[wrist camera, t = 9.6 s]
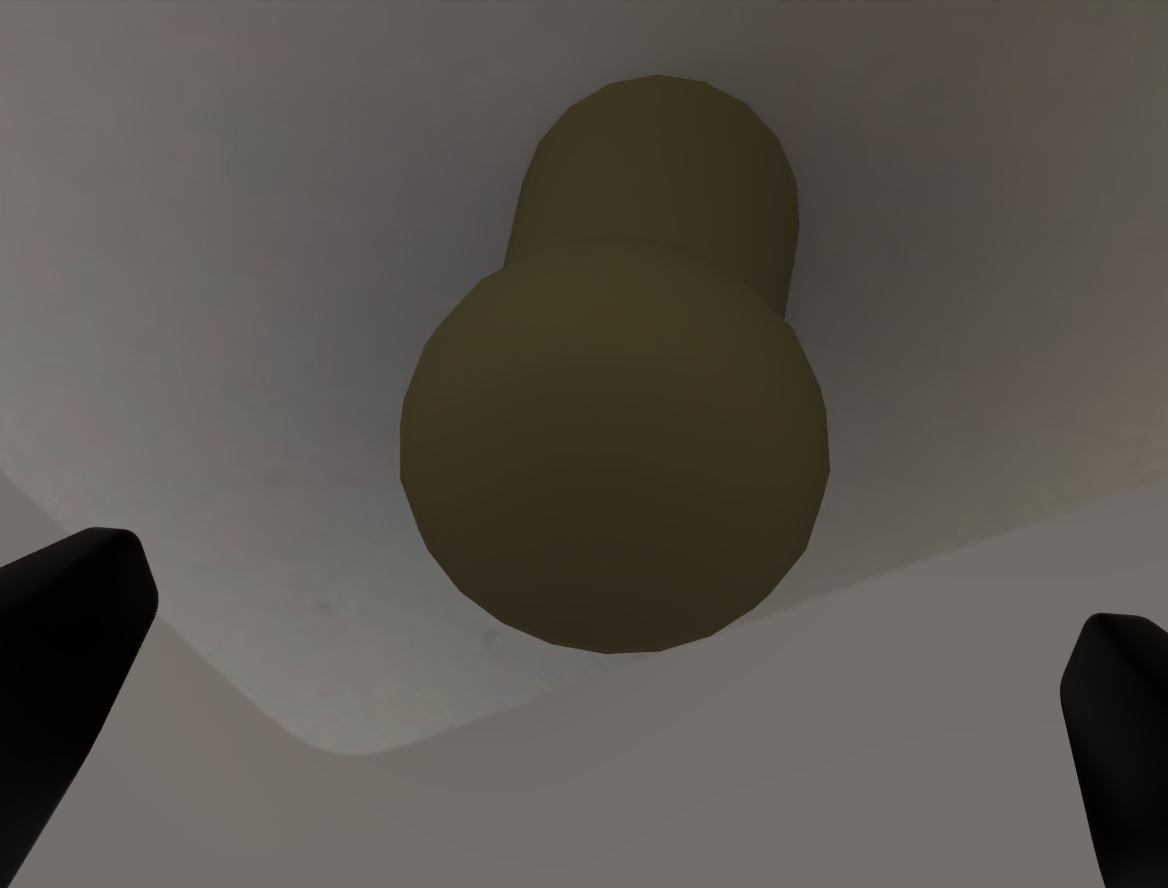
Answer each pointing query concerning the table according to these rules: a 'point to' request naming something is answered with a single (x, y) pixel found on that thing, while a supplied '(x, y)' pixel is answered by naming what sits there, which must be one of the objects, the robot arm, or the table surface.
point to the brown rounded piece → (626, 384)
